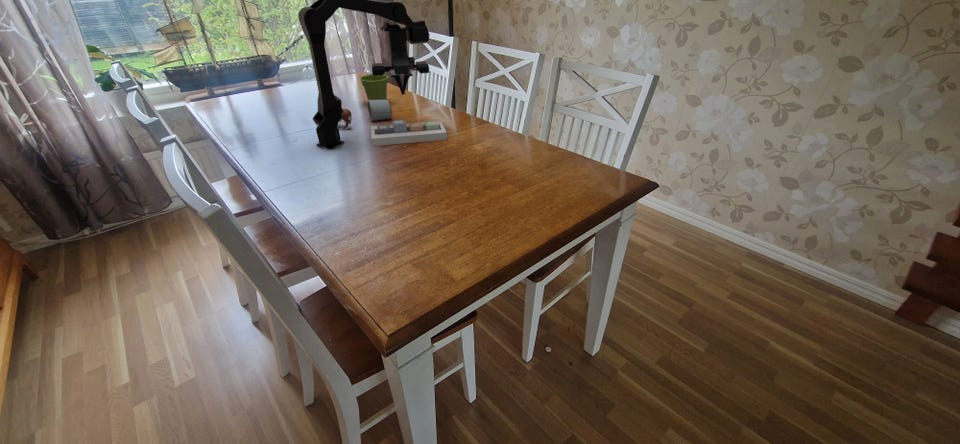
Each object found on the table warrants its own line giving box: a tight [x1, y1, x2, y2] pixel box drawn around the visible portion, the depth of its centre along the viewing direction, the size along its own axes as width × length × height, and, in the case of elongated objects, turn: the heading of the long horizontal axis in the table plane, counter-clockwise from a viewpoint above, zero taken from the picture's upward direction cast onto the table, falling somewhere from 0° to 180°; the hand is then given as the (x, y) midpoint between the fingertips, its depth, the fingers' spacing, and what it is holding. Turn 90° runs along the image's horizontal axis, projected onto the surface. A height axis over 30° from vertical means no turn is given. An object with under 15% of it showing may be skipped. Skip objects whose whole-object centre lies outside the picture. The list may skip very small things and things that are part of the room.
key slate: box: [392, 119, 407, 133], centre depth 129 cm, size 4×4×3 cm
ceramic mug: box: [367, 99, 393, 122], centre depth 146 cm, size 11×8×8 cm
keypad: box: [370, 120, 448, 147], centre depth 131 cm, size 25×12×3 cm, turn 105°
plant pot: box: [359, 73, 389, 101], centre depth 159 cm, size 12×12×11 cm
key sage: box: [424, 120, 439, 131], centre depth 132 cm, size 4×4×3 cm
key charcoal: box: [376, 124, 391, 135], centre depth 129 cm, size 4×4×3 cm
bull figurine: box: [338, 108, 353, 131], centre depth 137 cm, size 4×13×8 cm, turn 71°
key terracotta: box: [409, 121, 423, 132], centre depth 131 cm, size 4×4×3 cm
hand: (403, 94), depth 131 cm, fingers closed
